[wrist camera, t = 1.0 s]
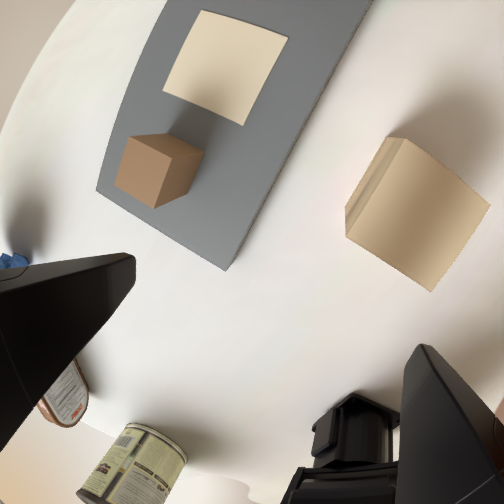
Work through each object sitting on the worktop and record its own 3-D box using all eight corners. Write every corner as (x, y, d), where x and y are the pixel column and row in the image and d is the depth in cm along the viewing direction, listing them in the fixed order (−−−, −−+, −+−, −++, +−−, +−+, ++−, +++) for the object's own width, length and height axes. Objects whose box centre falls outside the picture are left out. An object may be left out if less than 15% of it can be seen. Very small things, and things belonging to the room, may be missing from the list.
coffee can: (171, 469, 39) (132, 534, 26) (118, 432, 39) (71, 494, 26) (200, 458, 34) (157, 539, 22) (137, 414, 34) (80, 492, 22)
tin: (48, 312, 32) (2, 347, 25) (62, 317, 31) (15, 355, 24) (84, 396, 38) (52, 432, 30) (99, 403, 37) (67, 441, 29)
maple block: (450, 183, 16) (490, 205, 10) (408, 247, 18) (430, 292, 13) (385, 137, 16) (405, 138, 11) (345, 206, 18) (345, 236, 13)
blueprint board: (391, -34, 11) (401, -75, 7) (231, 264, 22) (201, 300, 17) (231, -79, 12) (203, -114, 7) (105, 187, 23) (58, 203, 18)
